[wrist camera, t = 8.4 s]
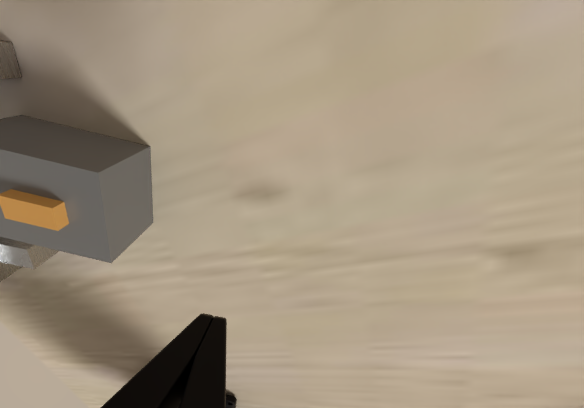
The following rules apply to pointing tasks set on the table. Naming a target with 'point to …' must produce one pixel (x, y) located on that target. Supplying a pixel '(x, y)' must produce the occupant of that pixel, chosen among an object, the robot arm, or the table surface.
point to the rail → (6, 252)
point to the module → (72, 188)
